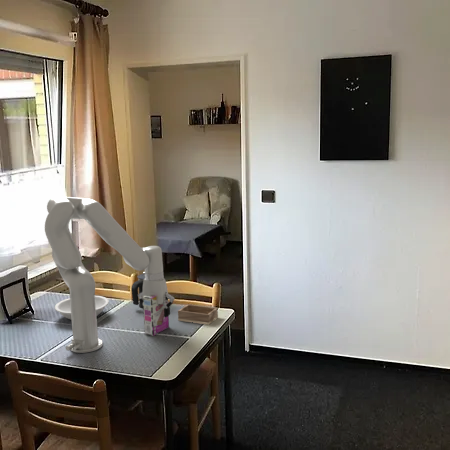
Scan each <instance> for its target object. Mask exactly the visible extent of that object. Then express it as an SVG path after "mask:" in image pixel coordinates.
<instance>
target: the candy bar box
mask: <svg viewBox="0 0 450 450" xmlns="http://www.w3.org/2000/svg"><path fill="white" fill-rule="evenodd" d="M164 308H165V307H164V306H163V304H157V299H156V296H151V295H146V296H144V297H143V308H142V309H143V326H144V327H143V328H144V335H148V336H152V337H154V336H156V335H157V334H160V333H161V332H163V331H164V330H167V329H168V328H170V321H169V320H170V318H169V316H170V315H169V316H168V317H164Z"/></svg>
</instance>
